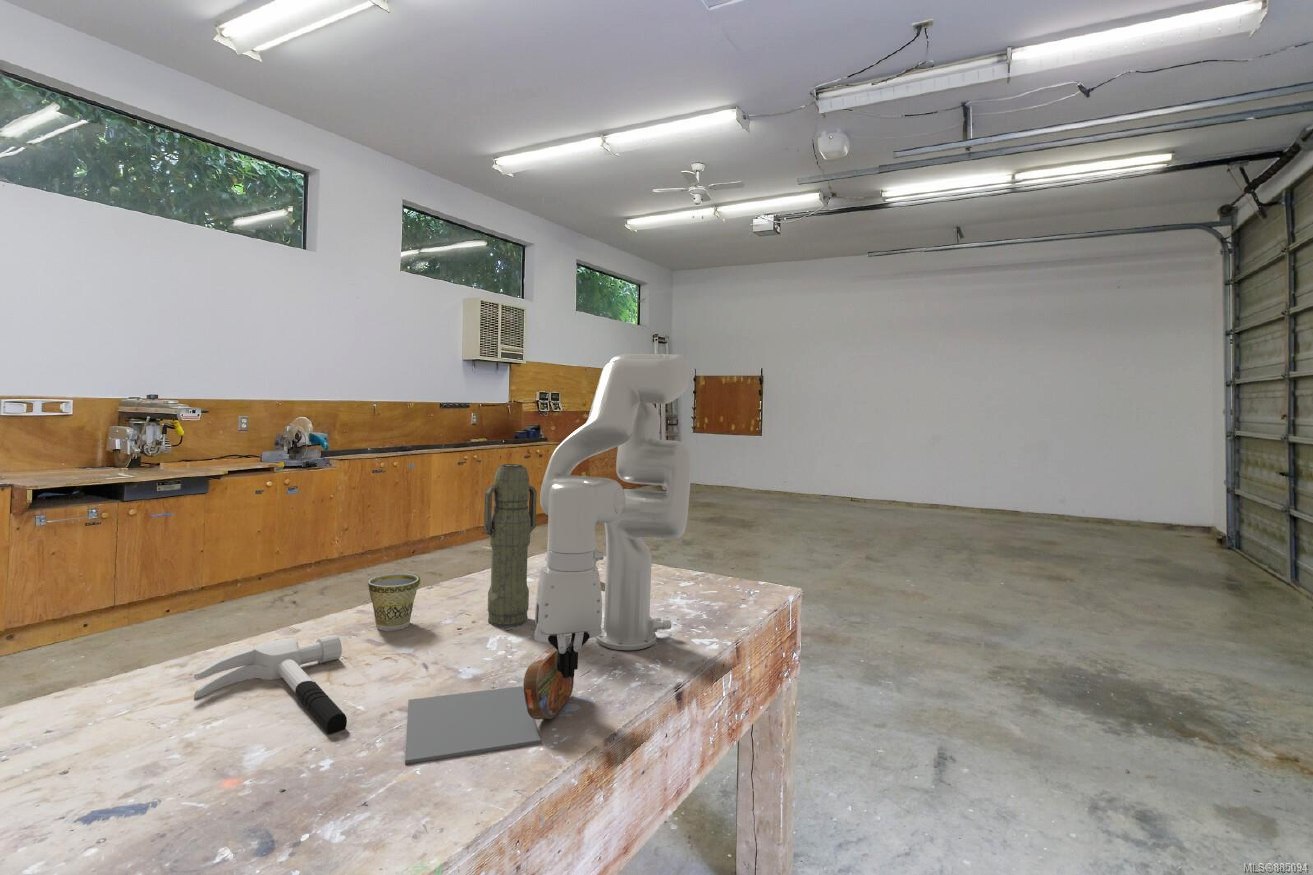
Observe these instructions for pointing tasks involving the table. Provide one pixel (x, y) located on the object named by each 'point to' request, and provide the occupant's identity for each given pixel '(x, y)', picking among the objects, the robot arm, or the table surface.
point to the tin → (546, 686)
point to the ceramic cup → (393, 599)
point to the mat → (468, 724)
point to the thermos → (509, 544)
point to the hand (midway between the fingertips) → (567, 674)
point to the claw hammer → (282, 673)
